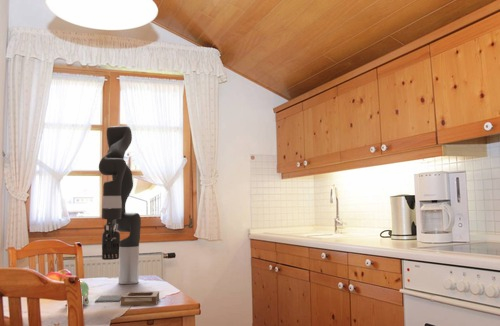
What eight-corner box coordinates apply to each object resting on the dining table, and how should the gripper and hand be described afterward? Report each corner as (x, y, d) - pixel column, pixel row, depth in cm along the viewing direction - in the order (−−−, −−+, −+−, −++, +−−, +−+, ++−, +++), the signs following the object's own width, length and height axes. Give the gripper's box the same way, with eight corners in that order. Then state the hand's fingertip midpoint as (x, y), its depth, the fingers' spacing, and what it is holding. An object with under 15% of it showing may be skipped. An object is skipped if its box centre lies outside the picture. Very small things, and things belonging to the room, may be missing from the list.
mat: (101, 297, 185) (101, 295, 185) (123, 296, 185) (123, 295, 185) (95, 302, 176) (95, 300, 176) (118, 301, 176) (118, 300, 176)
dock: (126, 299, 180) (126, 291, 180) (159, 299, 181) (159, 291, 181) (120, 305, 170) (120, 297, 170) (155, 304, 171) (155, 296, 171)
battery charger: (101, 260, 179) (102, 231, 180) (101, 259, 182) (101, 230, 183) (120, 259, 181) (120, 230, 182) (119, 258, 185) (119, 230, 186)
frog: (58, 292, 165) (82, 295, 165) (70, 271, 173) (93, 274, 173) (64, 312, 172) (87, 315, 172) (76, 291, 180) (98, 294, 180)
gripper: (106, 207, 191) (105, 248, 189) (97, 207, 176) (96, 252, 175) (124, 206, 191) (124, 248, 190) (117, 207, 177) (116, 252, 175)
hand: (110, 249), depth 182 cm, fingers closed on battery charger, 4 cm apart
